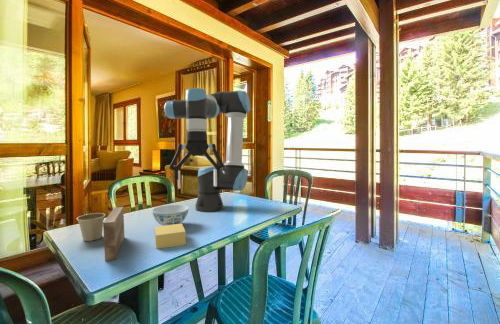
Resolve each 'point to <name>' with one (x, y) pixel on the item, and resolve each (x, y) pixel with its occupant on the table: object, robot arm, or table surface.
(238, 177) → the robot arm
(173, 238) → the mustard block
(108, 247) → the walnut board
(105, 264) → the table surface
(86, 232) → the flower pot
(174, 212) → the chinaware
